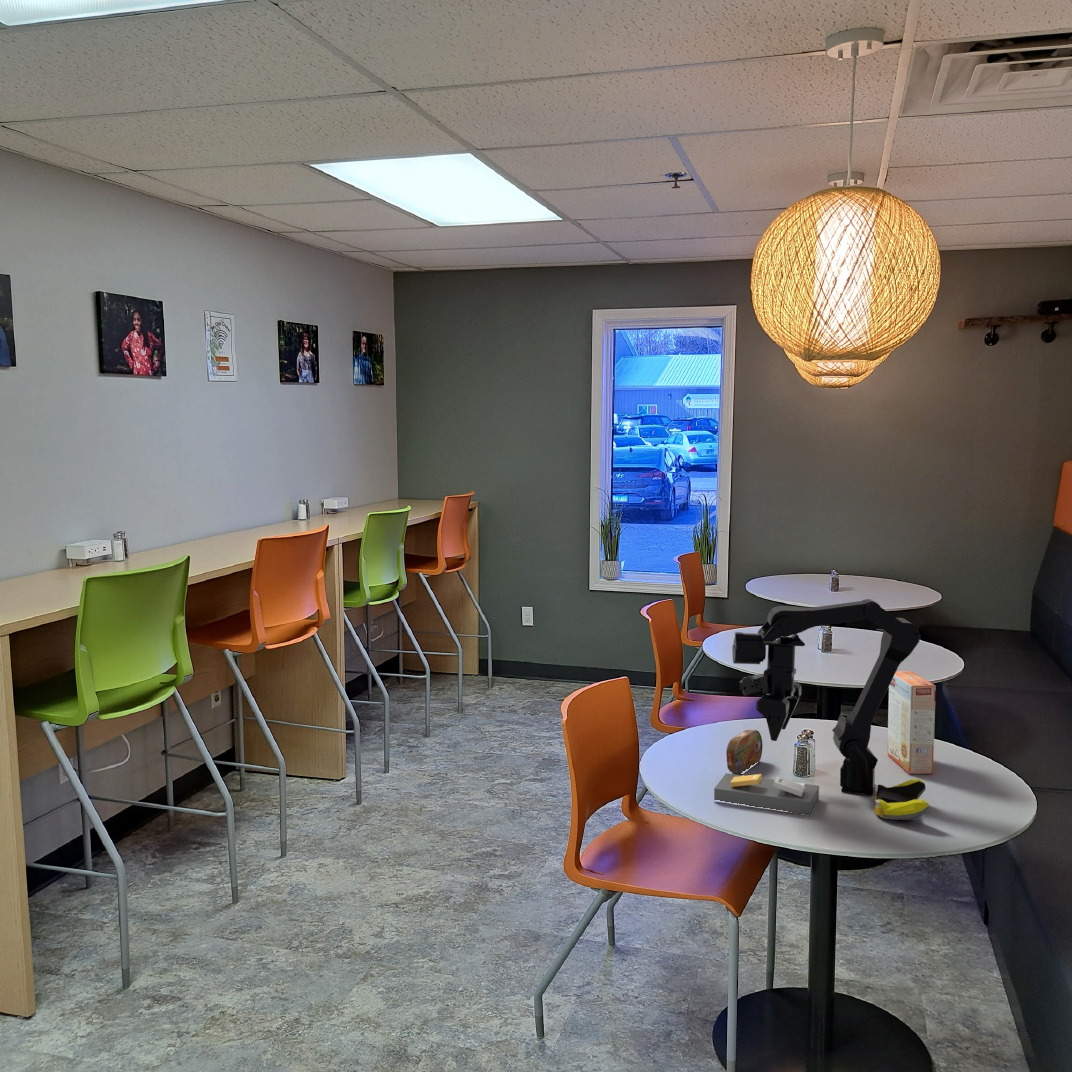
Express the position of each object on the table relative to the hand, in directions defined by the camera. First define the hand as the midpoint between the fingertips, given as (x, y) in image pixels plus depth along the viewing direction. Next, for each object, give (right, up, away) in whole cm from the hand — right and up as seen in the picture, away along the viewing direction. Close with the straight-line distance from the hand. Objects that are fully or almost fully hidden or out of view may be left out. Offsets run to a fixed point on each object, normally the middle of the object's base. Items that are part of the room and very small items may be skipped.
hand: (778, 734), depth 205 cm
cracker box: (+35, -10, +14) cm, 39 cm away
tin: (-4, -11, +14) cm, 19 cm away
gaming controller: (+21, -13, -14) cm, 29 cm away
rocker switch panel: (-4, -13, -6) cm, 15 cm away
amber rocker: (-8, -9, -6) cm, 13 cm away
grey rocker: (0, -9, -10) cm, 13 cm away
